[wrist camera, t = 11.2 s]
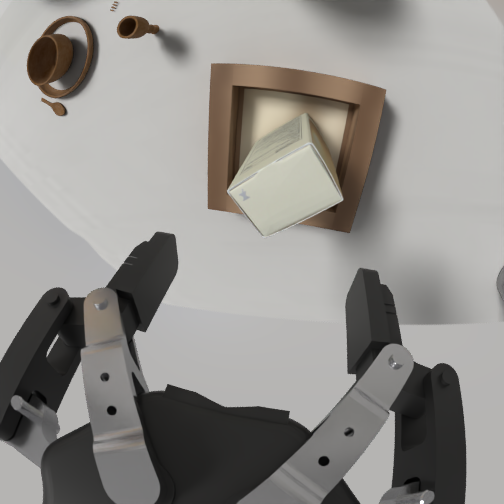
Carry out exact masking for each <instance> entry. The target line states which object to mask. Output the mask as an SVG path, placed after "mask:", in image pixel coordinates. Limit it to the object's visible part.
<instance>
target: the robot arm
mask: <svg viewBox="0 0 504 504" xmlns="http://www.w3.org/2000/svg"><path fill="white" fill-rule="evenodd" d="M177 270H178V255H177V247H176V238H175V235H174V234H169V233H164V232H156V233H155V234H154V236H153V237H152V238H151V239H150V241H149V242H147V241H144V242H143V243H141V244H140V245H138V246H137V247H135V248H134V250H133V251H132V252H131V254H130V255H129V257H128V258H127V259H126V260H125V261H124V264H122V266H121V267H120V268H119V270H118V271H117V272H116V274H115V275H114V277H113V278H112V279H111V281H110V282H109V283H108V285H107V286H106V288H98V289H96V290H94V291H92V292H91V293H89V294H88V296H87V297H85V298H70V297H69V295H68V293H67V292H66V290H65V289H63V288H53V289H50V290H49V291H47V292H46V293H45V294H44V295H43V296H42V298H41V299H40V300H39V302H38V303H37V305H36V306H35V308H34V309H33V310H32V312H31V313H30V315H29V316H28V318H27V319H26V321H25V322H24V324H23V325H22V327H21V329H20V330H19V332H18V333H17V335H16V336H15V338H14V340H13V341H12V343H11V345H10V346H9V348H8V350H7V352H6V353H5V355H4V357H3V359H2V360H1V362H0V440H1V441H3V442H5V443H7V444H9V445H11V446H12V447H14V448H15V449H16V450H17V451H19V452H20V453H21V454H23V455H24V456H25V457H26V458H28V459H29V460H30V461H32V462H33V463H34V464H36V465H37V466H39V467H40V468H41V475H42V481H43V504H360V502H359V501H358V500H357V498H356V497H355V495H354V494H353V493H352V491H351V490H350V488H349V487H348V485H347V484H346V482H345V481H344V479H343V477H344V476H345V474H346V473H347V472H348V471H349V470H350V468H351V467H352V466H353V465H354V464H355V462H356V461H357V460H358V459H359V457H360V456H361V455H362V454H363V452H364V451H365V450H366V448H367V447H368V446H369V444H370V443H371V442H372V440H373V439H374V438H375V436H376V435H377V434H378V432H379V431H380V429H381V428H382V426H383V425H384V423H385V422H386V420H387V419H388V417H389V412H388V411H389V410H391V411H394V412H395V449H394V467H393V480H392V488H391V489H390V490H388V491H387V492H386V493H385V494H384V495H383V497H382V498H381V500H380V502H379V504H465V491H466V440H465V426H464V414H463V406H462V398H461V392H460V385H459V379H458V376H457V373H456V371H455V370H454V369H453V368H452V367H451V366H450V365H448V364H444V363H440V364H437V365H436V366H435V367H434V368H433V369H430V368H428V367H425V366H423V365H420V364H418V363H416V362H414V361H413V357H412V355H411V353H410V352H409V351H408V350H407V349H406V348H405V347H403V345H402V341H401V334H400V329H399V323H398V318H397V315H396V308H395V307H394V306H395V304H394V299H393V295H392V293H391V292H390V290H389V289H388V287H387V286H386V285H383V284H380V280H379V275H378V272H377V271H375V270H369V269H364V268H359V270H358V271H357V274H356V276H355V278H354V281H353V283H352V285H351V288H350V290H349V292H348V295H347V299H346V306H345V308H346V325H347V326H346V328H347V363H348V364H347V365H348V366H347V367H348V374H356V382H355V383H354V384H353V385H352V387H351V388H350V389H349V391H348V392H347V393H346V394H345V395H344V397H343V398H342V399H341V400H340V401H339V402H338V403H337V405H336V406H335V407H334V408H333V409H332V410H331V411H330V413H329V414H328V415H327V416H326V417H325V418H324V419H323V420H322V421H321V422H320V423H319V424H318V425H317V426H316V427H315V428H314V429H313V430H312V431H311V432H310V431H309V430H308V429H307V428H305V427H304V426H303V425H301V424H300V423H298V422H296V421H294V420H292V419H290V418H289V412H290V411H285V410H278V409H271V408H265V407H259V406H257V407H224V406H221V405H219V404H217V403H215V402H213V401H211V400H209V399H207V398H206V397H204V396H202V395H200V394H198V393H196V392H193V391H189V390H185V389H182V388H178V387H175V386H172V385H169V384H167V387H166V390H165V391H153V392H149V389H148V387H147V384H146V381H145V379H144V376H143V373H142V369H141V365H140V361H139V357H138V353H137V348H136V344H135V339H134V336H133V335H134V334H135V332H136V330H140V331H143V332H146V330H147V328H148V327H149V325H150V322H151V321H152V319H153V317H154V315H155V313H156V311H157V309H158V307H159V305H160V303H161V301H162V300H163V298H164V296H165V294H166V292H167V290H168V288H169V287H170V285H171V283H172V281H173V279H174V277H175V275H176V273H177ZM497 288H498V290H499V292H500V294H501V296H502V298H503V300H504V267H503V269H502V270H501V272H500V274H499V277H498V280H497ZM57 334H58V335H59V337H58V339H57V341H56V342H55V344H54V346H53V348H52V349H51V351H50V353H49V355H48V356H47V357H46V355H47V351H48V349H49V347H50V345H51V344H52V342H53V340H54V339H55V337H56V335H57ZM80 362H82V372H83V379H84V388H85V395H86V401H87V407H88V412H89V418H90V422H89V423H88V424H86V425H84V426H82V427H80V428H78V429H76V430H74V431H72V432H70V433H68V434H66V435H64V436H62V437H60V438H59V439H57V435H56V434H58V433H59V431H60V426H59V424H58V418H57V415H56V413H57V410H58V408H59V406H60V404H61V401H62V399H63V397H64V394H65V392H66V390H67V388H68V386H69V384H70V382H71V379H72V378H73V376H74V373H75V372H76V370H77V368H78V366H79V364H80Z"/></svg>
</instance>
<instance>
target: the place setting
mask: <svg viewBox="0 0 504 504" xmlns="http://www.w3.org/2000/svg"><path fill="white" fill-rule="evenodd" d="M114 3H118V2H114ZM113 5H114V6H117V5H115V4H113ZM111 8H115V7H111ZM111 11H114V10H111ZM67 22H78V23H80V24H81V25H82V26H83V28H84V30H85V33H86V36H87V43H88V51H87V58H86V62H85V66H84V69H83V71H82V73H81V76H80V77H79V79H78V81H77V82H76V84H75V85H74V86H72V87H71V88H69V89H66V90H56V89H54V88H52V87H51V86H50V85H49V84H48V83H51V82H54V81H56V80H58V79H60V78H61V77H62V76H63V75H64V74H65V73H66V72H67V70H68V69H69V67H70V64H71V62H72V58H73V46H72V43H71V41H70V39H69V38H68V37H66V36H65V35H62V34H53V32H54V31H55V30H56V29H57V28H58V27H60V26H61V25H63V24H65V23H67ZM158 31H159V26H158V25H149V23H148V21H147V20H146V19H144V18H142V17H137V16H127V17H125V18H123V19H122V20H121V21H120V22H119V24H118V27H117V33H118V35H119V36H120V37H121V38H128V39H130V38H139V37H142V36H144V35H145V34H146V33H152V34H156V33H157V32H158ZM92 56H93V37H92V33H91V30H90V28H89V26H88V25H87V23H86V22H85V21H83V20H82V19H80V18H78V17H75V16H65V17H62V18H59V19H57V20H56V21H54V22H53V23H52V24H51V25H50V26H49V27H48V28H47V29H46V30H45V31H44V33H43V34H42V36H41V37H40V38H39V39H38V40H37V41H36V42H35V43H34V44H33V46H32V48H31V50H30V52H29V55H28V60H27V72H28V76H29V78H30V80H31V82H32V83H33V84H35V85H37V86H38V87H39V89H40V90H41V91H42V92H43V93H44V94H45V95H47V96H49V97H52V98H59V97H63V96H65V95H67V94H69V93H71V92H72V91H73V90H75V89H76V88H77V87H78V86H79V84H80V83H81V82H82V81H83V79H84V77H85V76H86V74H87V72H88V69H89V67H90V64H91V60H92ZM41 101H42V102H44V103H46V104H48V105H49V106H51V107H52V109H53V111H54V112H55V114H56V115H58V116H62V115H64V114H65V109H64V107H63V105H62V104H60V103H58V102H56V103H50V102H49V101H47V100H45V99H44V98H42V99H41Z"/></svg>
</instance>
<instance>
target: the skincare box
mask: <svg viewBox="0 0 504 504" xmlns="http://www.w3.org/2000/svg"><path fill="white" fill-rule="evenodd" d="M227 192H228V194H229V195H230V196H231V198H232V199H233V200H234V202H235V203H236V204H237V205H238V207H239V208H240V210H241V211H242V212H243V213H244V215H245V216H246V217H247V219H248V220H249V221H250V223H251V224H252V225H253V226H254V227H255V229H256V230H257V231H258V232H259V233H260V235H261V236H262V237H263V238H267V237H269V236H272V235H274V234H277V233H279V232H281V231H283V230H286V229H288V228H290V227H292V226H294V225H296V224H298V223H300V222H302V221H304V220H306V219H308V218H310V217H312V216H314V215H316V214H318V213H320V212H322V211H324V210H326V209H328V208H330V207H332V206H334V205H336V204H337V203H339V202H341V201H343V195H342V191H341V188H340V184H339V181H338V177H337V174H336V170H335V167H334V164H333V161H332V157H331V154H330V151H329V148H328V146H327V144H326V142H325V140H324V138H323V137H322V135H321V133H320V131H319V130H318V128H317V126H316V125H315V123H314V122H313V120H312V119H311V117H310V116H309V114H308V113H304V114H302V115H300V116H298V117H296V118H294V119H292V120H290V121H289V122H287V123H285V124H283V125H282V126H280V127H278V128H277V129H275V130H273V131H272V132H270V133H269V134H267V135H266V136H264V137H262V138H261V139H259V140H258V141H257V142H256V143H255V144H254V146H253V148H252V149H251V151H250V153H249V154H248V156H247V158H246V159H245V161H244V163H243V164H242V166H241V168H240V169H239V171H238V173H237V174H236V176H235V178H234V180H233V181H232V183H231V185H230V186H229V188H228V190H227Z"/></svg>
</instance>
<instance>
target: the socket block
mask: <svg viewBox="0 0 504 504" xmlns="http://www.w3.org/2000/svg"><path fill="white" fill-rule="evenodd" d="M385 94H386V90H385V89H382V88H379V87H376V86H372V85H369V84H365V83H361V82H357V81H353V80H349V79H345V78H340V77H336V76H331V75H326V74H320V73H315V72H309V71H303V70H296V69H289V68H281V67H271V66H261V65H247V64H211V79H210V101H209V133H208V209H213V210H219V211H226V212H232V213H239V214H244V213H243V212H242V211H241V210H240V208H239V207H238V205H237V204H236V203H235V202H234V200H233V199H232V198H231V196H230V195H229V194H228V192H227V190H228V188H229V186H230V185H231V183H232V181H233V180H234V178H235V176H236V174H237V173H238V171H239V169H240V168H241V166H242V164H243V163H244V161H245V159H246V158H247V156H248V154H249V153H250V151H251V149H252V148H253V146H254V144H255V143H256V142H257V141H258V140H259V139H261V138H262V137H264V136H266V135H267V134H269V133H270V132H272V131H273V130H275V129H277V128H278V127H280V126H282V125H283V124H285V123H287V122H289V121H290V120H292V119H294V118H296V117H298V116H300V115H302V114H304V113H308V114H309V116H310V117H311V119H312V120H313V122H314V123H315V125H316V126H317V128H318V130H319V131H320V133H321V135H322V137H323V138H324V140H325V142H326V144H327V146H328V148H329V151H330V154H331V157H332V161H333V164H334V167H335V170H336V174H337V177H338V181H339V184H340V188H341V191H342V195H343V201H341V202H339V203H337V204H336V205H334V206H332V207H330V208H328V209H326V210H324V211H322V212H320V213H318V214H316V215H314V216H312V217H310V218H308V219H306V220H304V221H302V222H300V223H298V224H304V225H310V226H315V227H320V228H326V229H331V230H336V231H341V232H347V233H350V230H351V227H352V224H353V220H354V217H355V214H356V211H357V207H358V204H359V201H360V197H361V194H362V190H363V187H364V183H365V180H366V176H367V172H368V169H369V165H370V161H371V157H372V153H373V149H374V145H375V141H376V137H377V132H378V128H379V123H380V119H381V114H382V109H383V104H384V99H385Z"/></svg>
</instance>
